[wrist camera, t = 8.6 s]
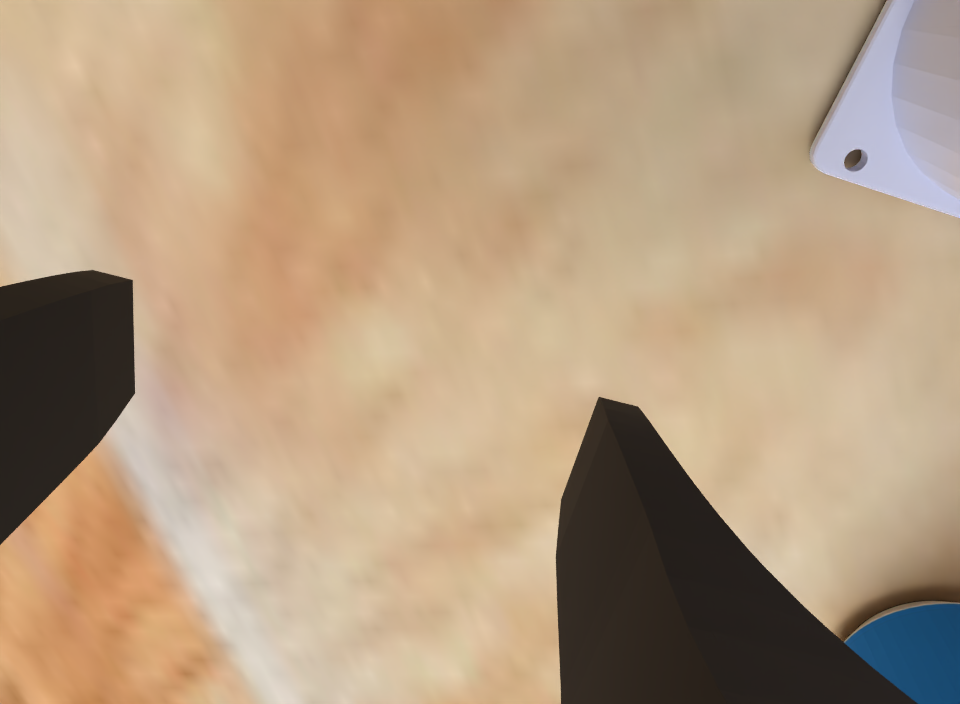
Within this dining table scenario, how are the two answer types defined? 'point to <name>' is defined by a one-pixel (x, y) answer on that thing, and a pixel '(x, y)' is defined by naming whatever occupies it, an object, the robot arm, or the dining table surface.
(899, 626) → the beverage can
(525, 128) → the dining table surface
